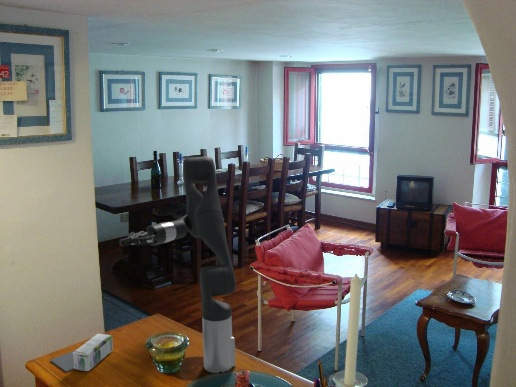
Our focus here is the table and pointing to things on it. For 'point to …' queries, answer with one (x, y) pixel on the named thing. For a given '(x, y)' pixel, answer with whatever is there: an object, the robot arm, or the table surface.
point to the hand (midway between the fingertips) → (120, 243)
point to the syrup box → (92, 352)
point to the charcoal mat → (64, 361)
